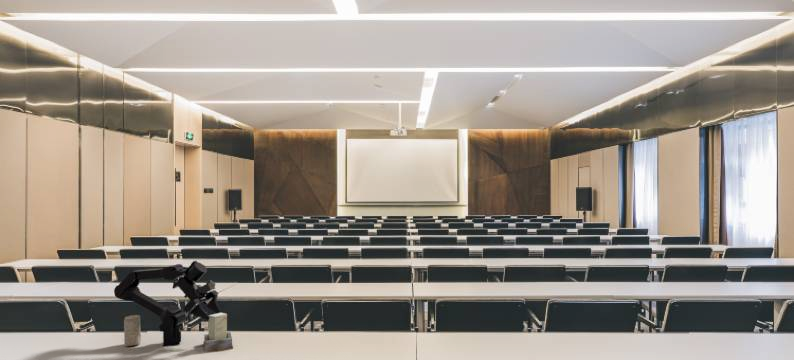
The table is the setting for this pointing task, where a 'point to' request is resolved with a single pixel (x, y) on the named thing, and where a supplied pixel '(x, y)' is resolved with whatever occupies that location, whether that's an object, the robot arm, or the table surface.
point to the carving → (132, 330)
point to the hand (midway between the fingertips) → (214, 316)
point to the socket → (217, 343)
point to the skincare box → (217, 326)
